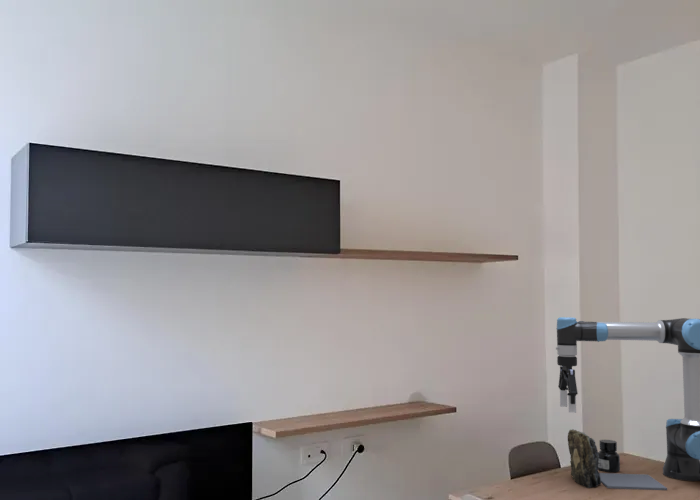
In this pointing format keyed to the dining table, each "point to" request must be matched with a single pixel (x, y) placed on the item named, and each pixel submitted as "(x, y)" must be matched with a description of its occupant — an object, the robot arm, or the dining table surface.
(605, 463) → the ink bottle
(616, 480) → the rubber mat
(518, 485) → the dining table surface
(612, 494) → the dining table surface
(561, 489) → the dining table surface
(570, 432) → the stone block
